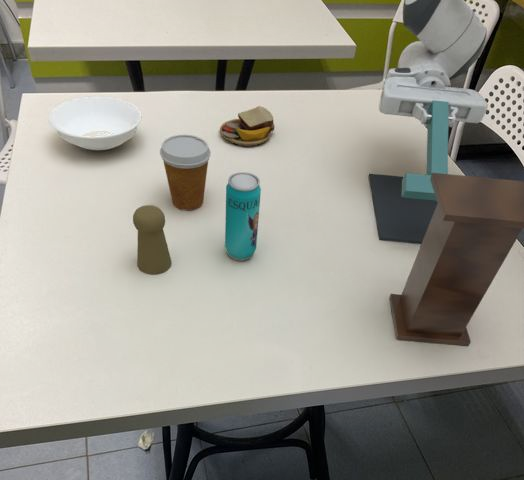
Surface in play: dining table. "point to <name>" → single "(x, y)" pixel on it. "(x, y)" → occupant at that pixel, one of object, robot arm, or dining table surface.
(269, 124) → the toy sandwich meal
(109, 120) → the bowl
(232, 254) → the beverage can
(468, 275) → the stand
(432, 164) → the letter T
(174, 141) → the disposable coffee cup
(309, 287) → the dining table surface
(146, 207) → the olive pawn
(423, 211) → the mat
